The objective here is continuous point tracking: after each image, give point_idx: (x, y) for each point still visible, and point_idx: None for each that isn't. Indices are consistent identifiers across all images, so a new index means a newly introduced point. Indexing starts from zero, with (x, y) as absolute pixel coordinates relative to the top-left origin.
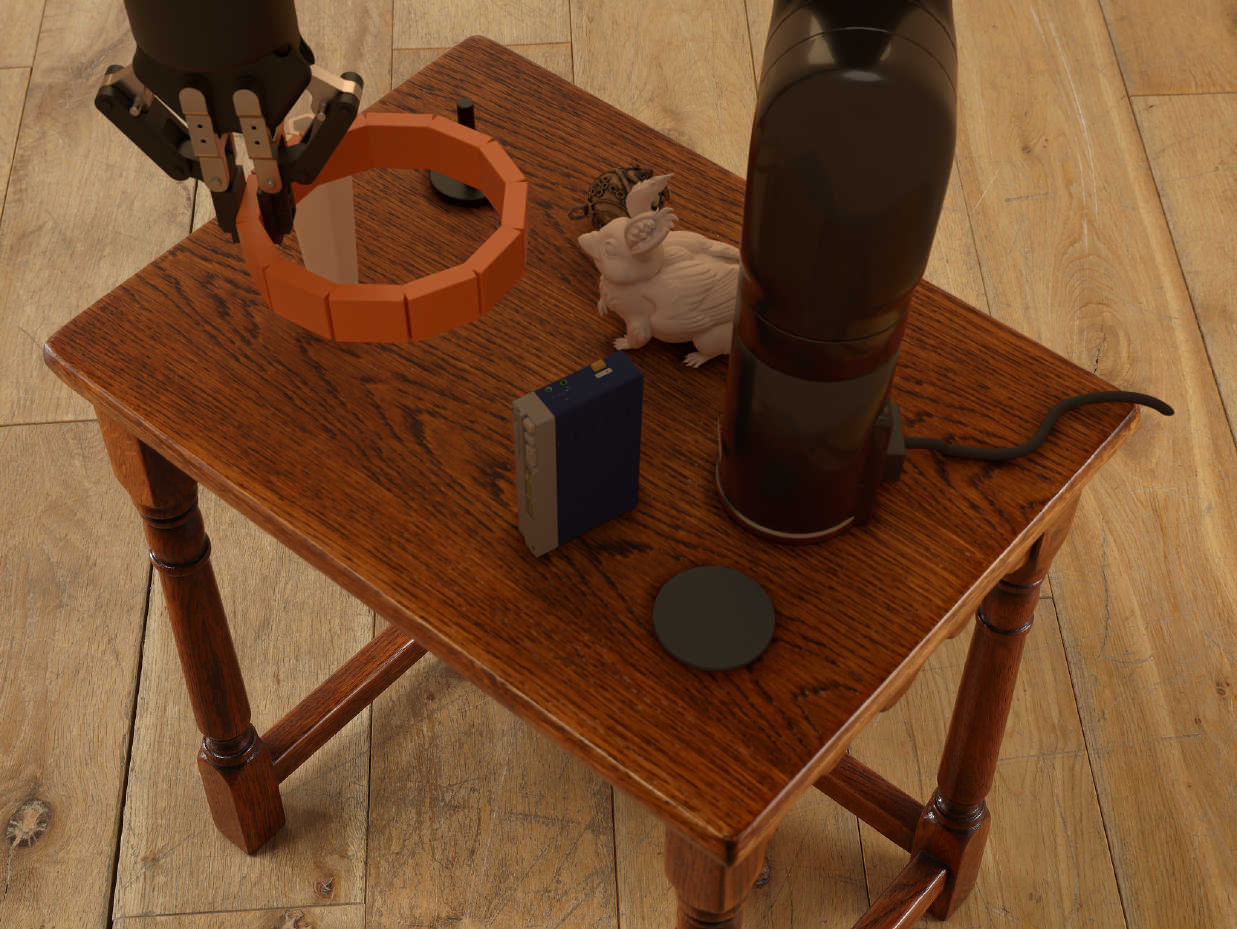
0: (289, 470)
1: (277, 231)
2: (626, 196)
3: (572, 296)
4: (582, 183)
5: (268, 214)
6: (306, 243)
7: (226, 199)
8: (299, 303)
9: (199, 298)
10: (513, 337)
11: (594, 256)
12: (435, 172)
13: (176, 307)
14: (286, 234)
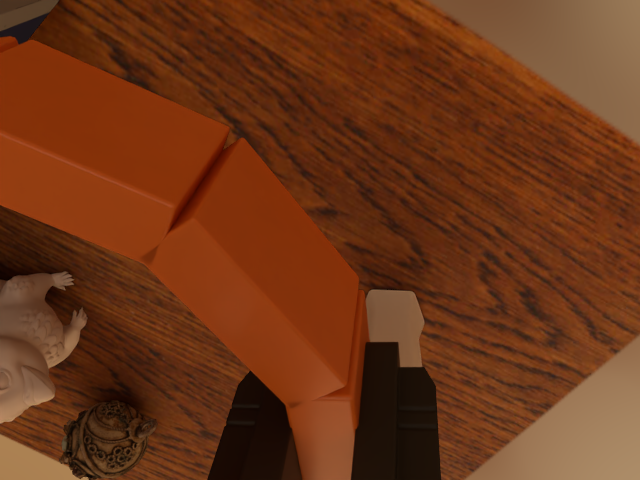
0: (393, 58)
1: None
2: (87, 446)
3: (140, 334)
4: (181, 457)
5: (270, 418)
6: None
7: (383, 467)
8: (77, 113)
9: (562, 314)
10: None
11: (29, 371)
12: None
13: (590, 300)
14: None
